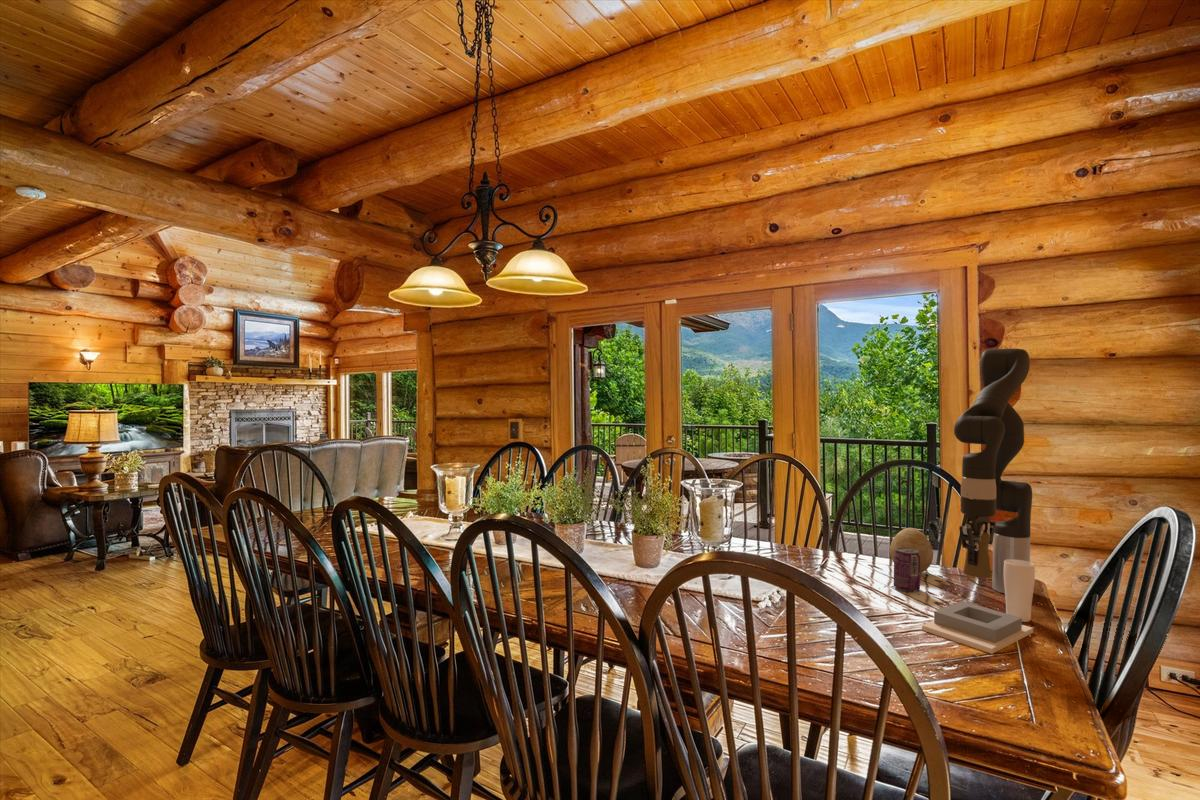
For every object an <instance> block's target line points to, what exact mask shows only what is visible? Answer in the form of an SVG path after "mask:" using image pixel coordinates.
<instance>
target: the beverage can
mask: <svg viewBox="0 0 1200 800" xmlns="http://www.w3.org/2000/svg"><path fill="white" fill-rule="evenodd" d="M918 553H919V551H918V550H915V549H912V548H904V547H900V548H896V552H895V554H894V562H893V587H895V588H897V589H898V590H899V591H902V592H906V593H907V592H908V593H914V592H915V593H916V591H919V590H920V589H921V573H920V556H919V554H918Z"/></svg>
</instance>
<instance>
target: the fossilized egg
mask: <svg viewBox="0 0 1200 800" xmlns="http://www.w3.org/2000/svg"><path fill="white" fill-rule="evenodd" d="M929 540H930V539H928V537H927V536H926V534H924V532H922V531H921V530H919V529H917V528H914V527H907V528H904V529H901V530H900V531H899V532H897V534H896V535H895V536H894V537H893V539H892V540H891V543H890V547H889V555H890V558H891V560H892V562H893V563H894V554H895V552H896V548H900V547H904V548H912V549H915V550H918V551H919V553H918V554H919V556H920V574H921V573H924V572H925V571H927V570H928V569H929V568H930V566H931V565H932V562H933V560H934V550H933V546H932V544H931V542H930V541H929Z"/></svg>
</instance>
